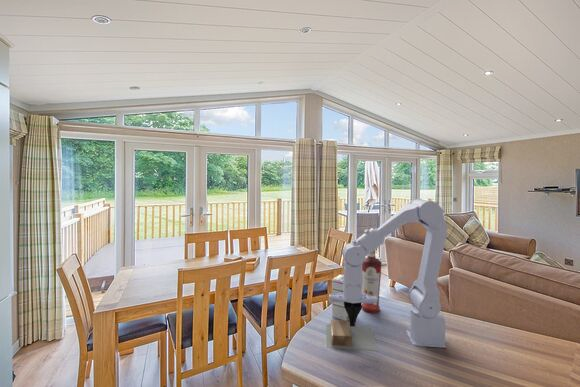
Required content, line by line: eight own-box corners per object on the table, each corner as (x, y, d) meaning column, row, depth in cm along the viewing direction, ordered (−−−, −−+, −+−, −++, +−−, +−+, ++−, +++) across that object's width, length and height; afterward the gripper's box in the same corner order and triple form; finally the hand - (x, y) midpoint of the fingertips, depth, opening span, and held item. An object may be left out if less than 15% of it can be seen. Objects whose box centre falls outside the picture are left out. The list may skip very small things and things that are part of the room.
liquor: (360, 313, 106) (361, 239, 104) (360, 304, 113) (362, 235, 111) (380, 316, 104) (382, 240, 102) (380, 307, 111) (381, 236, 109)
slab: (349, 321, 94) (330, 320, 95) (351, 336, 85) (331, 335, 86) (348, 329, 95) (330, 328, 95) (351, 346, 86) (331, 344, 86)
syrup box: (346, 322, 100) (346, 281, 99) (331, 317, 104) (331, 278, 103) (353, 315, 105) (353, 277, 104) (338, 311, 108) (339, 273, 107)
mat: (370, 328, 96) (370, 327, 96) (378, 352, 83) (378, 350, 83) (326, 325, 98) (326, 324, 98) (326, 348, 85) (326, 347, 85)
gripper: (374, 278, 92) (373, 319, 93) (328, 277, 94) (328, 317, 95) (378, 287, 85) (377, 331, 86) (329, 285, 87) (329, 328, 88)
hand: (352, 324), depth 90 cm, fingers closed
